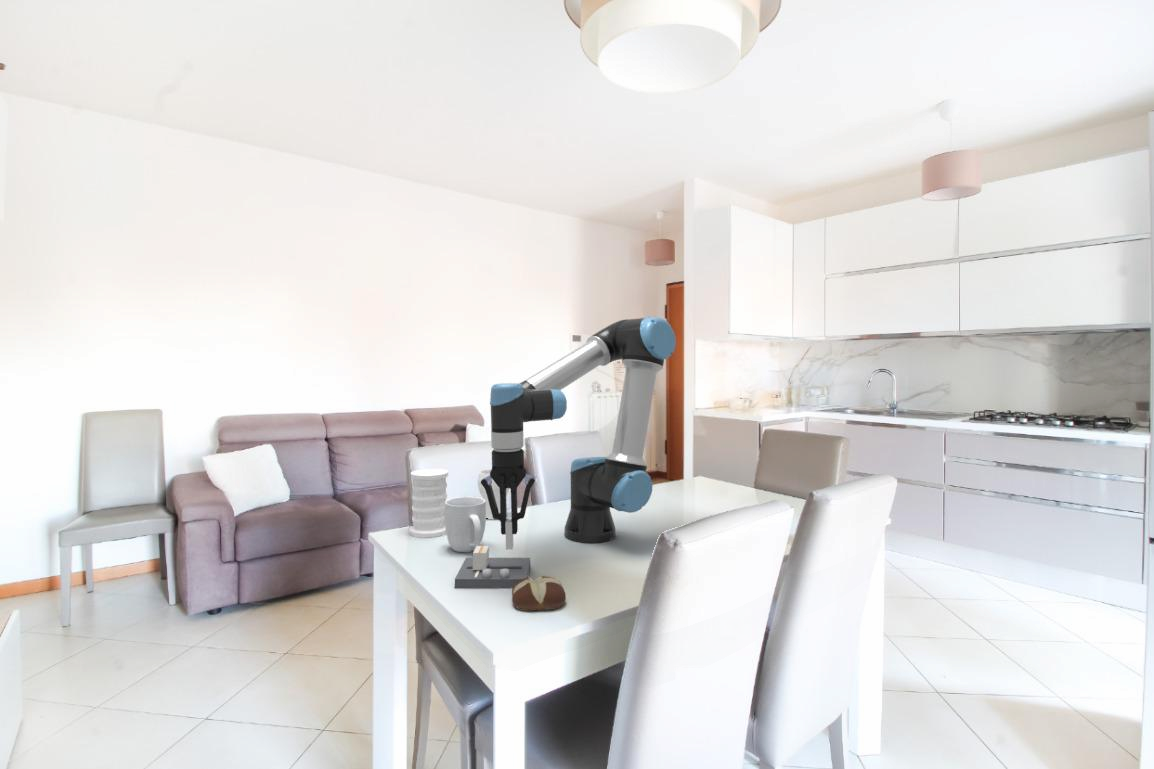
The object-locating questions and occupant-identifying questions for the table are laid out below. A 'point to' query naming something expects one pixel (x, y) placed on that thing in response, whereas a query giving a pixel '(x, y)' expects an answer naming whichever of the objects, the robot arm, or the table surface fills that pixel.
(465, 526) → the mug
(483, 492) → the cup
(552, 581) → the bread
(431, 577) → the table surface
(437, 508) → the decorative container
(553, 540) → the table surface
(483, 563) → the fader cap
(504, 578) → the console
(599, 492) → the robot arm
